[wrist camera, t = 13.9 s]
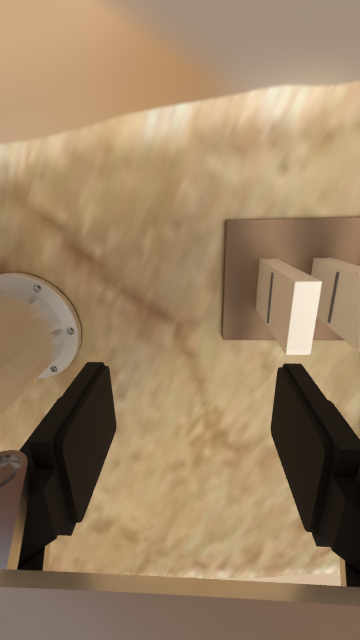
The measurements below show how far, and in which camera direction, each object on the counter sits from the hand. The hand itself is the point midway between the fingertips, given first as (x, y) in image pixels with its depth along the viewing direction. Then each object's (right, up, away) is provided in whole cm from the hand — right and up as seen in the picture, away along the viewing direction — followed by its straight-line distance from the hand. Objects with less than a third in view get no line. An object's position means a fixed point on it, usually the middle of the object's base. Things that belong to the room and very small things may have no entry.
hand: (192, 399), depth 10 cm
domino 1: (+8, +6, +17) cm, 20 cm away
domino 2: (+13, +6, +16) cm, 22 cm away
